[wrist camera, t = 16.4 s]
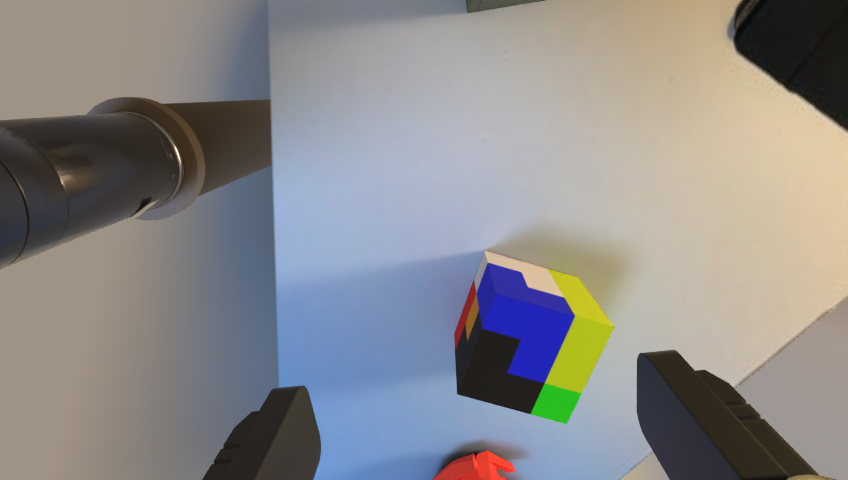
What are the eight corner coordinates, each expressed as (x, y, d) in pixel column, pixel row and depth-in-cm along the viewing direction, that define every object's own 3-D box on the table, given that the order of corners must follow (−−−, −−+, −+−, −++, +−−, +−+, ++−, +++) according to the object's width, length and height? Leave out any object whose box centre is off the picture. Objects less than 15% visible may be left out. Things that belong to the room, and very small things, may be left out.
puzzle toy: (484, 250, 45) (495, 293, 35) (578, 277, 45) (614, 327, 36) (454, 334, 48) (457, 394, 38) (542, 358, 48) (566, 424, 39)
